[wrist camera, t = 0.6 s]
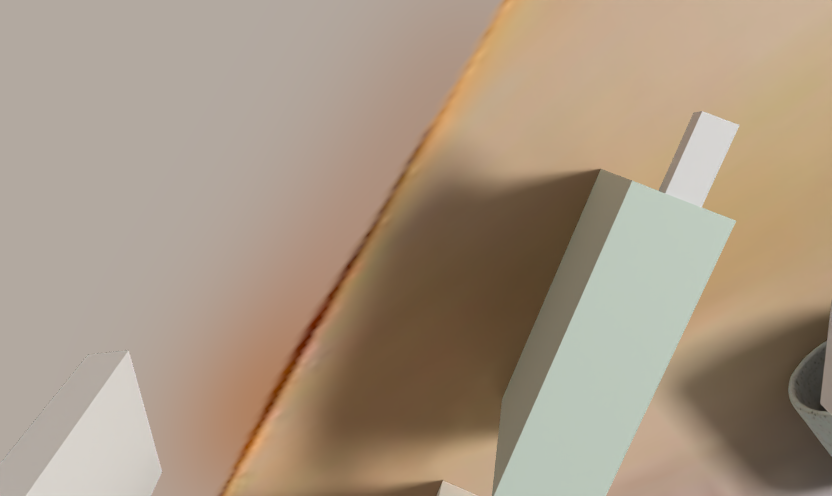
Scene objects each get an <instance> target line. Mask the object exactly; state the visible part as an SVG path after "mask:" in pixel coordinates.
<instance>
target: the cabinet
mask: <svg viewBox="0 0 832 496" xmlns="http://www.w3.org/2000/svg"><path fill="white" fill-rule="evenodd" d="M436 496H478V495H475V494H473V493H471V492H469V491H466V490H464V489H462V488H459V487H457V486H455V485H452V484H450V483H448V482H446V481H442V484H441V486H440V488H439V491H438V493H437V495H436Z"/></svg>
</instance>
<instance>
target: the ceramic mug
mask: <svg viewBox="0 0 832 496" xmlns="http://www.w3.org/2000/svg"><path fill="white" fill-rule="evenodd" d="M826 346H827V341H825V342H824V343H822V344H821V345H819V346H818V347H816V348H815V349H814V350H813V351H812V352H810V353H809V354H808V355H807V356H806V357H805V358H804V359H803V360H802V361H801V362H800V364H799V365H798V366H797V368H796V369H795V370H794V372H793V373H792V375H791V378H790V381H789V387H788V393H789V399H790V401H791V403H792V405H793V407H794V408H795V409H796V411H797V412H798V413H799V415H800V416H801V417H802V418H803V420H804V421H805V422H806V424H807V425H808V426H809V428H810V429H811V430H812V432H813V433H814V434H815V436H816V437H817V438H818V440H819V441H820V442H821V444H822V445H823V446H824V448H825V449H826V450H827V451H828V453H829V454H830V455H831V457H832V415H831V414H830V413H829V412H828V411H827V410H826V409H825V408H824V407H823V406H822V405H821V404H820V399H821V391H822V382H823V373H824V364H825V355H826Z"/></svg>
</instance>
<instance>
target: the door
mask: <svg viewBox="0 0 832 496" xmlns="http://www.w3.org/2000/svg"><path fill="white" fill-rule="evenodd" d="M738 127H739V125H738V124H735V123H732V122H730V121H727V120H724V119H722V118H719V117H716V116H714V115H711V114H708V113H706V112H703V111H701V112H695V113H693V115H692V117H691V120H690V122H689V124H688V126H687V129H686V131H685V133H684V135H683V138H682V140H681V142H680V144H679V147H678V149H677V151H676V153H675V155H674V158H673V160H672V162H671V164H670V167H669V169H668V171H667V173H666V176H665V178H664V180H663V182H662V184H661V187H660V189H659V191H657V190H655V189H652V188H650V187H647V186H644V185H642V184H639V183H637V182H634V181H632V180H629V179H626V178H624V177H621V176H618V175H616V174H613V173H611V172H608V171H605V170H603V169H601V170H600V172H599V174H598V177H597V179H596V181H595V184H594V186H593V188H592V191H591V193H590V195H589V198H588V200H587V202H586V205H585V207H584V209H583V212H582V214H581V216H580V219H579V221H578V223H577V226H576V228H575V230H574V233H573V235H572V237H571V240H570V242H569V244H568V247H567V249H566V251H565V254H564V256H563V258H562V261H561V263H560V265H559V268H558V270H557V272H556V275H555V277H554V279H553V282H552V284H551V286H550V289H549V291H548V293H547V296H546V298H545V300H544V303H543V305H542V307H541V310H540V312H539V314H538V317H537V319H536V321H535V324H534V326H533V328H532V330H531V333H530V335H529V337H528V340H527V342H526V344H525V347H524V349H523V351H522V354H521V356H520V358H519V361H518V363H517V365H516V368H515V370H514V372H513V375H512V377H511V379H510V382H509V384H508V386H507V389H506V391H505V393H504V396H503V398H502V405H501V414H500V424H499V433H498V443H497V452H496V462H495V472H494V481H493V491H492V496H606V494H607V492H608V490H609V488H610V486H611V484H612V482H613V480H614V477H615V475H616V473H617V471H618V469H619V467H620V465H621V463H622V461H623V459H624V456H625V454H626V452H627V450H628V448H629V446H630V444H631V442H632V440H633V437H634V435H635V433H636V431H637V429H638V427H639V425H640V423H641V421H642V418H643V416H644V414H645V412H646V410H647V408H648V406H649V404H650V402H651V399H652V397H653V395H654V393H655V391H656V389H657V387H658V385H659V383H660V380H661V378H662V376H663V374H664V372H665V370H666V368H667V366H668V364H669V361H670V359H671V357H672V355H673V353H674V351H675V349H676V347H677V345H678V342H679V340H680V338H681V336H682V334H683V332H684V330H685V328H686V326H687V323H688V321H689V319H690V317H691V315H692V313H693V311H694V309H695V307H696V304H697V302H698V300H699V298H700V296H701V294H702V292H703V290H704V288H705V286H706V283H707V281H708V279H709V277H710V275H711V273H712V271H713V269H714V267H715V264H716V262H717V260H718V258H719V256H720V254H721V252H722V250H723V248H724V245H725V243H726V241H727V239H728V237H729V235H730V233H731V231H732V229H733V226H734V224H735V222H736V221H735V220H733V219H730V218H728V217H725V216H722V215H720V214H717V213H715V212H712V211H709V210H707V209H704V208H702V205H703V203H704V201H705V199H706V197H707V194H708V192H709V190H710V188H711V186H712V184H713V181H714V179H715V177H716V175H717V173H718V171H719V168H720V166H721V164H722V162H723V160H724V158H725V155H726V153H727V151H728V149H729V147H730V145H731V142H732V140H733V138H734V136H735V134H736V132H737V129H738Z"/></svg>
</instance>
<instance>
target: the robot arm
mask: <svg viewBox="0 0 832 496" xmlns="http://www.w3.org/2000/svg"><path fill="white" fill-rule="evenodd" d="M820 404H821V405H822V406H823V407H824V408H825V409H826V410H827V411H828V412H829V413H830V414H831V415H832V302H831V311H830V320H829V329H828V338H827V346H826V355H825V364H824V373H823V382H822V391H821V399H820ZM161 473H162V469H161V466H160V462H159V459H158V455H157V452H156V448H155V444H154V441H153V437H152V433H151V429H150V426H149V422H148V419H147V415H146V411H145V408H144V405H143V400H142V397H141V393H140V389H139V386H138V382H137V378H136V375H135V371H134V368H133V364H132V360H131V357H130V353H129V350H125V351H116V352H106V353H97V354H88V355H87V356H86V357H85V359H84V360H83V361H82V362H81V364H80V365H79V366H78V367H77V369H76V370H75V371H74V372H73V374H72V375H71V376H70V377H69V379H68V380H67V381H66V382H65V383H64V385H63V386H62V387H61V389H60V390H59V391H58V392H57V393H56V395H55V396H54V397H53V398H52V400H51V401H50V402H49V403H48V405H47V406H46V407H45V408H44V409H43V411H42V412H41V413H40V415H39V416H38V417H37V418H36V419H35V421H34V422H33V423H32V424H31V426H30V427H29V428H28V429H27V431H26V432H25V433H24V434H23V436H22V437H21V438H20V439H19V440H18V442H17V443H16V444H15V445H14V447H13V448H12V449H11V450H10V452H9V453H8V454H7V455H6V457H5V458H4V459H3V460H2V462H1V463H0V496H151V495H152V492H153V490H154V488H155V486H156V484H157V482H158V480H159V478H160V475H161Z"/></svg>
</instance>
